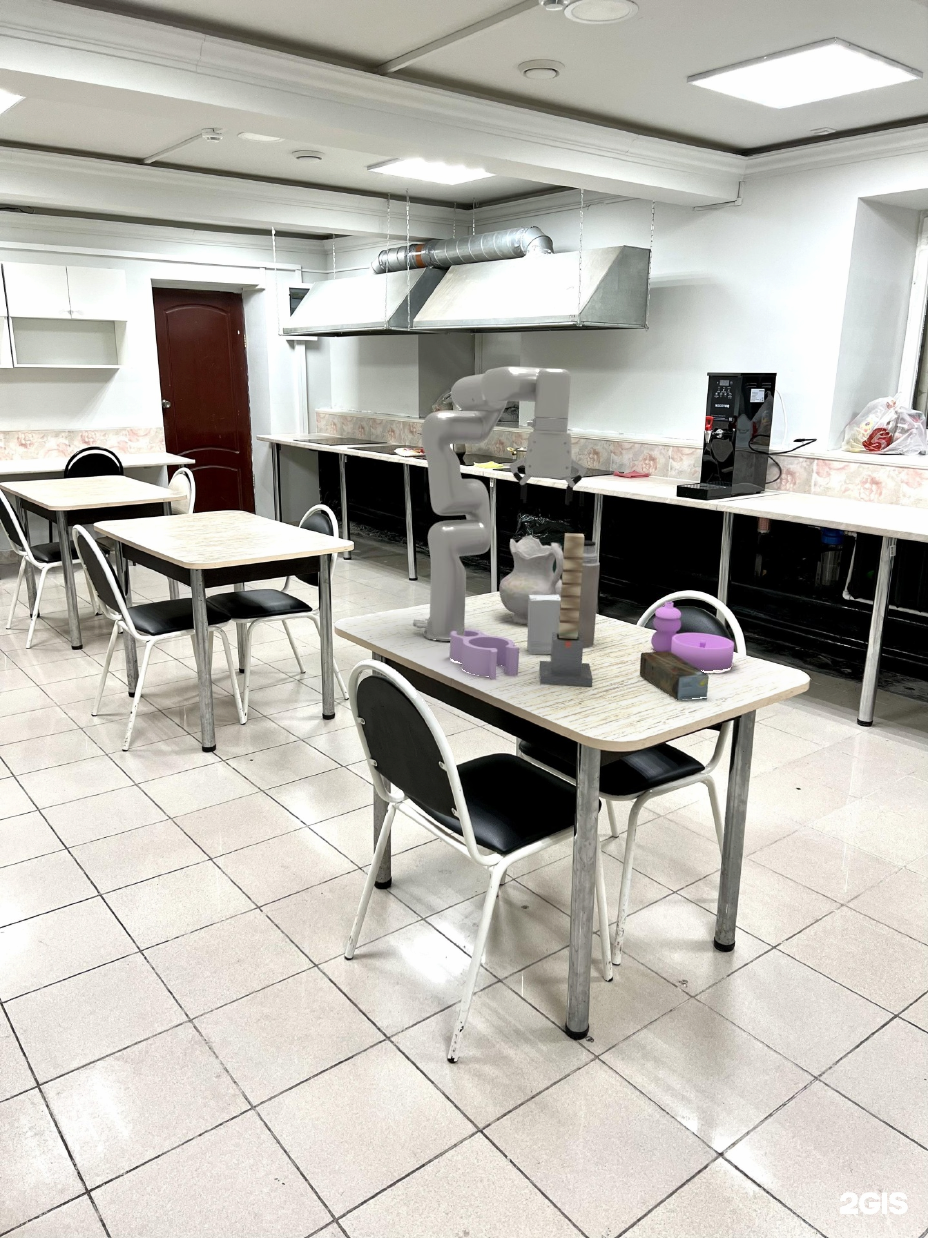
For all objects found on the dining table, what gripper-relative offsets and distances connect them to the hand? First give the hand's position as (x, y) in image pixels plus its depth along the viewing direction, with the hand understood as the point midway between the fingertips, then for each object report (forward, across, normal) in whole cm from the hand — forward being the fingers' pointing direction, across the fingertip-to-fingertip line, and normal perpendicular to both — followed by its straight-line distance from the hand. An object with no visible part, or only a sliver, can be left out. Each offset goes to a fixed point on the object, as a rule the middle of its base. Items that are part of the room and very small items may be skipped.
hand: (545, 503), depth 206 cm
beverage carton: (+42, +32, -2) cm, 53 cm away
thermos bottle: (+42, +12, +32) cm, 54 cm away
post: (+31, +7, +1) cm, 32 cm away
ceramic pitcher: (+42, 0, +54) cm, 68 cm away
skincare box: (+42, +2, +22) cm, 47 cm away
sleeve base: (+41, +7, +1) cm, 42 cm away
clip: (+42, -13, +6) cm, 44 cm away
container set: (+42, +40, +22) cm, 62 cm away
